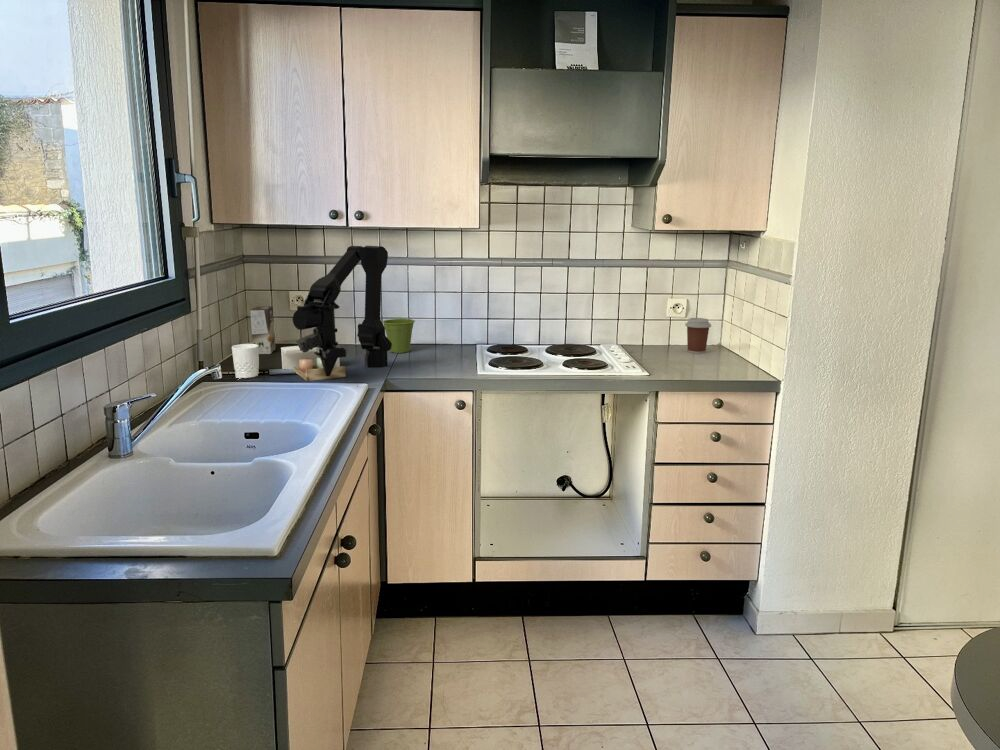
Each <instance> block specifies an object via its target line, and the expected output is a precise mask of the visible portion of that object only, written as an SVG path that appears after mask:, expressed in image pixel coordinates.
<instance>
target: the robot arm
mask: <svg viewBox="0 0 1000 750" xmlns="http://www.w3.org/2000/svg"><path fill="white" fill-rule="evenodd" d="M388 257H389V252H388V250H387V249H386V248H385V247H384V246H382V245H381V246H380V245H365V246H361V245H350V246H348V247H347V248H346V251H345V252H344V253H343V255H342V256H341V257H340V259H338V261H337V263H335V264H334V266H333V267H332V269H330V271H329V272H328V273H327V274H326V275H324V276H322V277H320V278H318V279H317V280H315V282H314V283H312V284H311V286H310V289H309V291H308V294H307V296H306V298H305V300H304V303H303V305H298V306H296V309H297V310H296V311H295V312H294V313H293V316H292V323H293V326H294V327H295V328H296V330H300V331H302V330H307V329H308V330H309V329H312V333H310V334H307V335H306V336H304V337H301V338H300V339H297V340H296V344H297V346H299V349H300V351H302V352H304V353H305V352H308V351H309V350H312V349H313V348H316V350H317V352H314V354H316V355H317V356H318V357H319V358H320V359H321V362H322V365H323V368H324V371H325V375H326V376H330V375H331V372H332V370H333V367H334V365H335V363H336V361H337V359H338V358H339V359H340V358H346V357H347V350H346V349H345V348H344V347H343V346H341V345H339V342H338V341H337V340H336V339H337V337H336V334H337V333H338V328H337V327H336V318H335V317H336V316H335V310H337V309H340V305H338V304H337V303H336V300H337V299H338V297H339V295H340V293H341V290H342V289H341V288H342V284H343V283H344V281H345V280H346V279H347V277H349V275H350V274H351V273H352V272H353V270H354V269H355V268H356V267H357V265H358V264H359V263H360V265H361V268H362V270H363V271H364V273H365V286H364V287H365V293H364V294H365V296H364V319H363V320H362V322H361V323H358V325H357V337H358V342H359V345H360V347H361V349H362V350H365V354H364V366H365V368H369V369H373V368H375V369H377V368H379V369H380V368H385V367H388V368H390V366H389V365H388V361H389V360H388V352H390V350H391V346H392V343H391V342H390V341H389V339H388V338H387V335H386V330H385V327H384V323H382V321H383V320H382V319H381V310H382V309H381V308H382V307H381V306H382V304H381V302H382V300H381V299H382V275H383V273H384V271H385V269H386V268H387V266H388Z"/></svg>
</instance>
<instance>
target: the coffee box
mask: <svg viewBox="0 0 1000 750" xmlns="http://www.w3.org/2000/svg"><path fill="white" fill-rule="evenodd" d="M249 311H250V326H251V327H250V328H251V340H252V341H251V342H252V343H251V344H257V345H258V346H259V355H271V354H272V353H274V351H275V350H276V338H275V323H274V322H275V321H274V307H273V306H272V305H271V306H267V305H266V306H265V305H264V306H263V305H262V306H255V307H253V308H251V309H250V310H249Z"/></svg>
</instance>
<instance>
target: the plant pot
mask: <svg viewBox="0 0 1000 750" xmlns="http://www.w3.org/2000/svg"><path fill="white" fill-rule="evenodd" d="M381 321H382V323H383V325H384V327H385V336H386V337H387V338H388V339H389V341H390V342H391V343H392V346H391V350H389V352H390V353H395V354H399V353H400V354H404V353H406V352H408V353H409V352H410V351H411V343H412V336H413V335H412V334H413V328H414V323H416V320H415V319H412V318H411V319H410V318H392V319H386V320H381Z"/></svg>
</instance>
